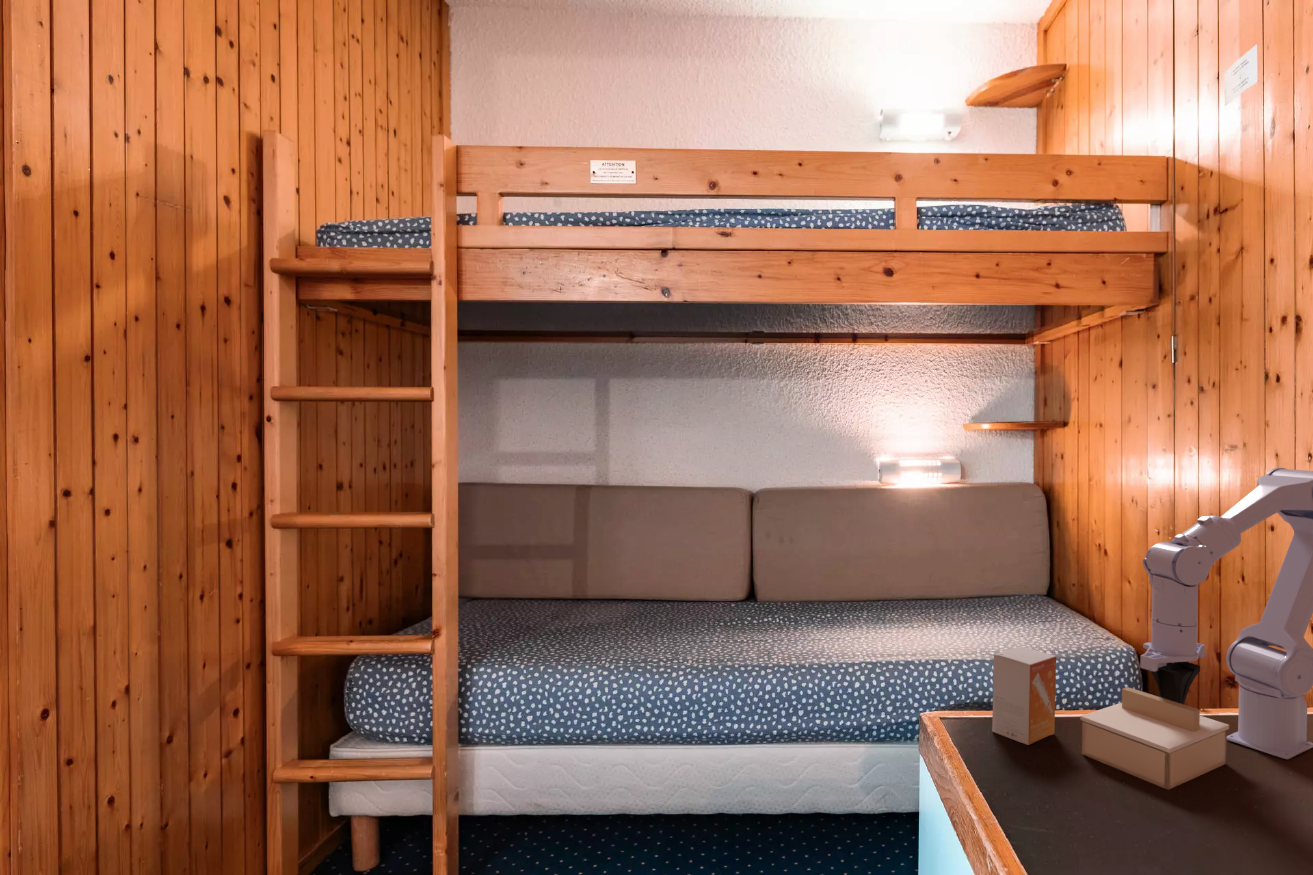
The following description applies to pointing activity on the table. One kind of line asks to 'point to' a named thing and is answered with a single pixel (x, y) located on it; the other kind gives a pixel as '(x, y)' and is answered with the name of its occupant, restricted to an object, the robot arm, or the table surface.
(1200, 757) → the box
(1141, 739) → the lid
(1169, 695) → the robot arm
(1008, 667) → the small box
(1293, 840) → the table surface
